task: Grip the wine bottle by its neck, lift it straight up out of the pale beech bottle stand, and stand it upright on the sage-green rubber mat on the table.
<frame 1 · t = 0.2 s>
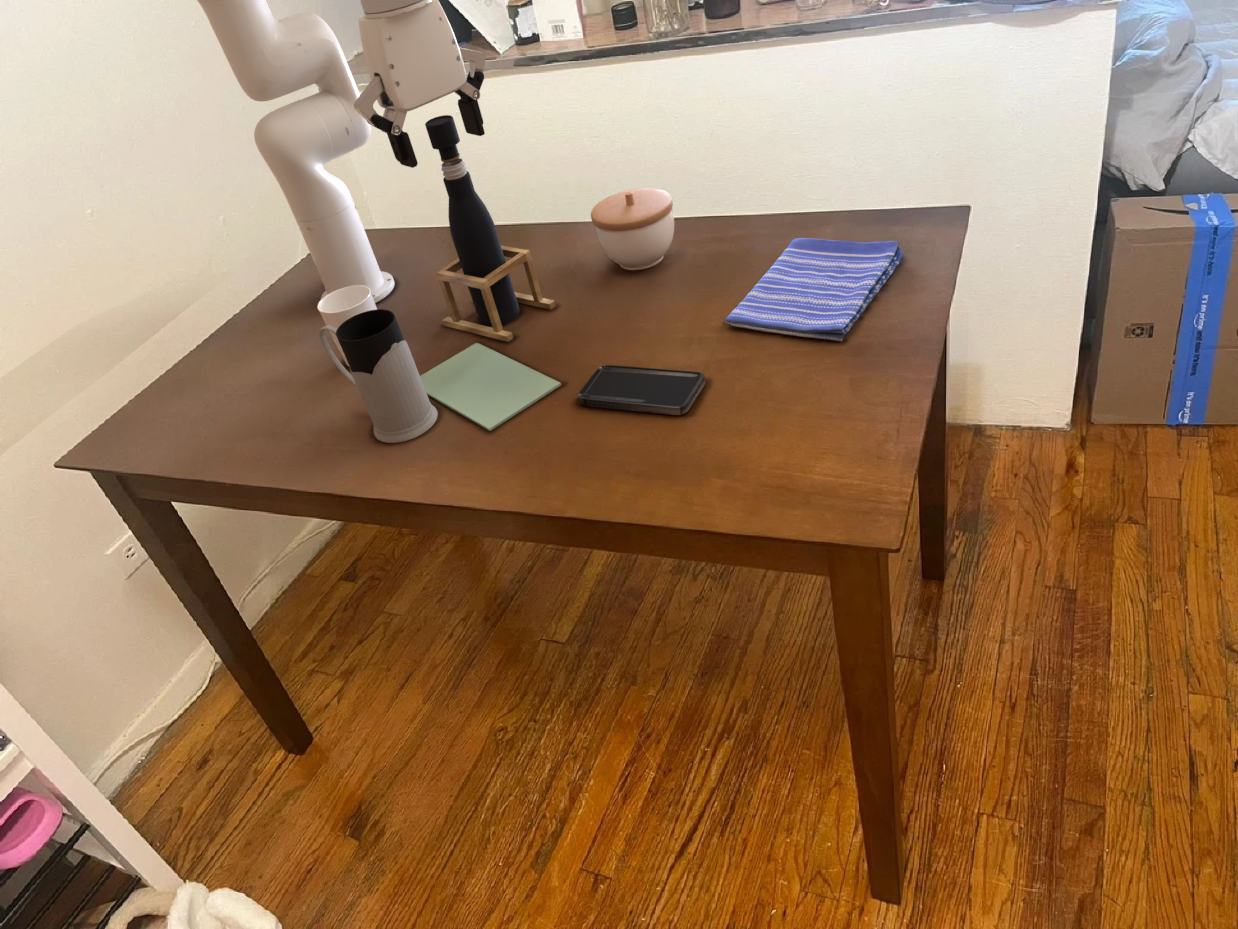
hand: (443, 149, 112), 31 cm above the table, tool pointing down, fingers open, 9 cm apart
phone: (642, 394, 120), on the table
mat: (483, 384, 129), on the table
bottle stand: (499, 316, 144), on the table
dish towel: (817, 293, 131), on the table
lidded bowl: (641, 260, 150), on the table
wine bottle: (499, 317, 145), on the table
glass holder: (391, 420, 127), on the table
white cup: (368, 358, 142), on the table
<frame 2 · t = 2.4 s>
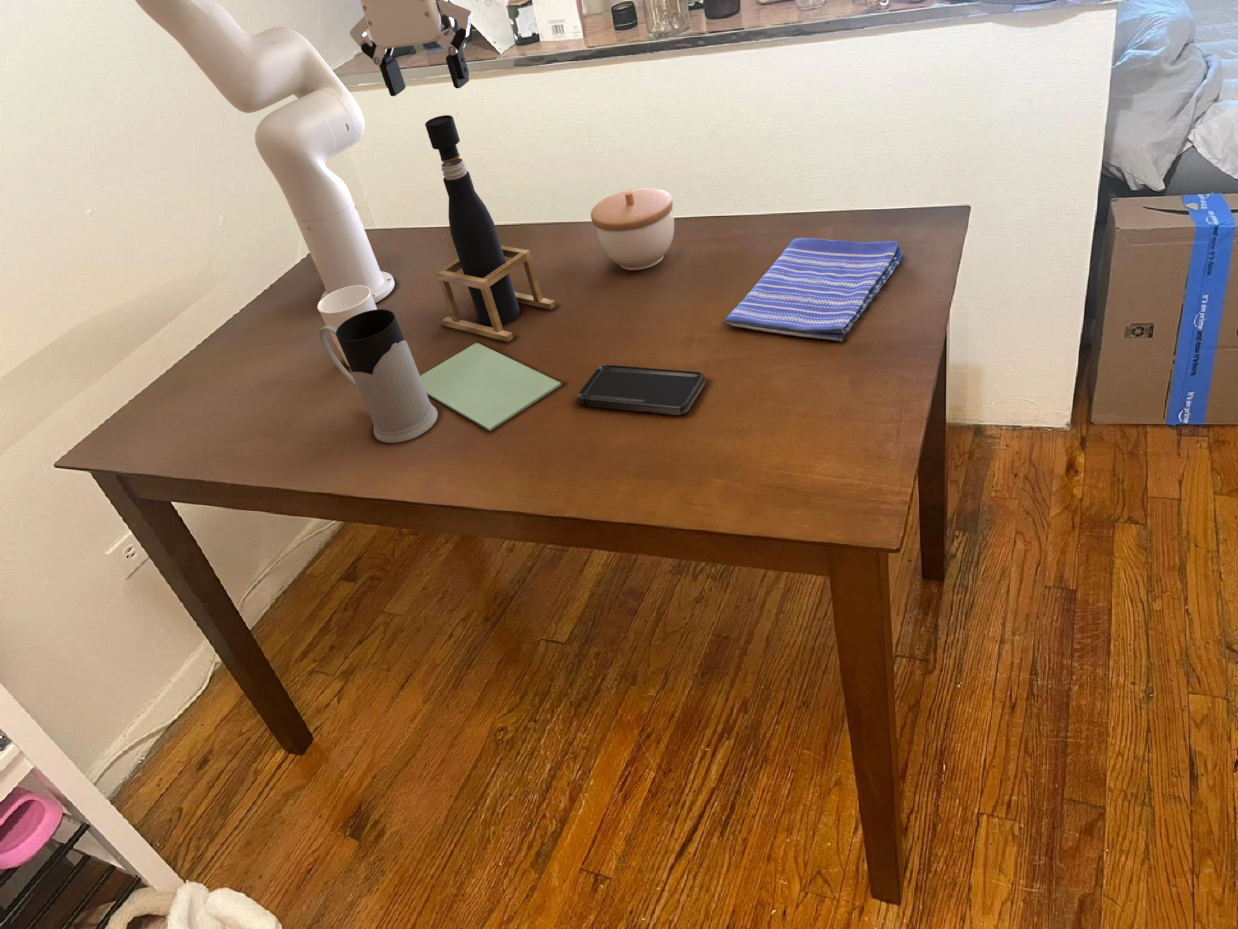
hand: (430, 88, 124), 34 cm above the table, tool pointing down, fingers open, 9 cm apart
nothing on the table moved.
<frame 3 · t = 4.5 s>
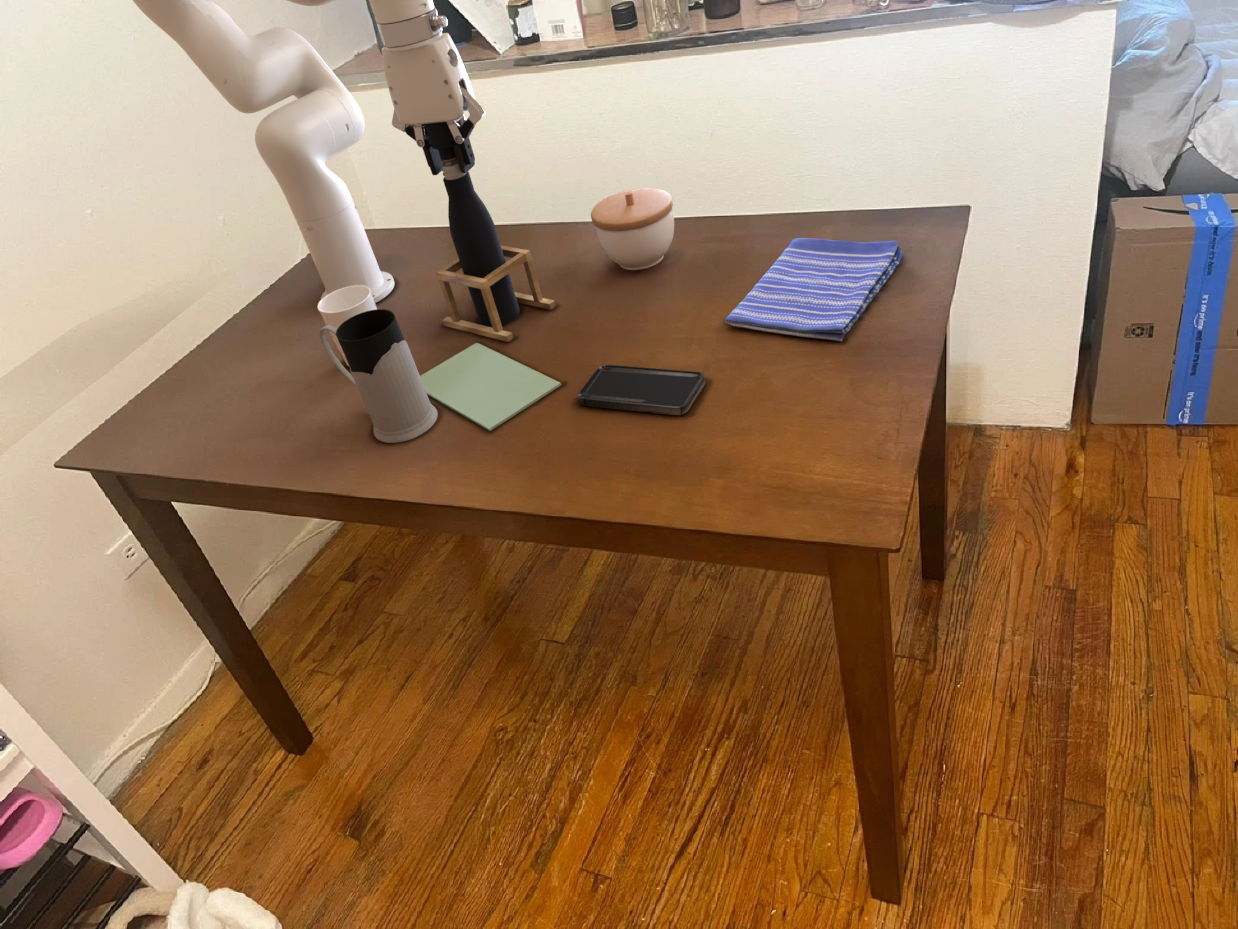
hand: (453, 168, 130), 23 cm above the table, tool pointing down, fingers closed on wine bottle, 3 cm apart
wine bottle: (499, 317, 145), on the table, touching gripper
everything else where it was.
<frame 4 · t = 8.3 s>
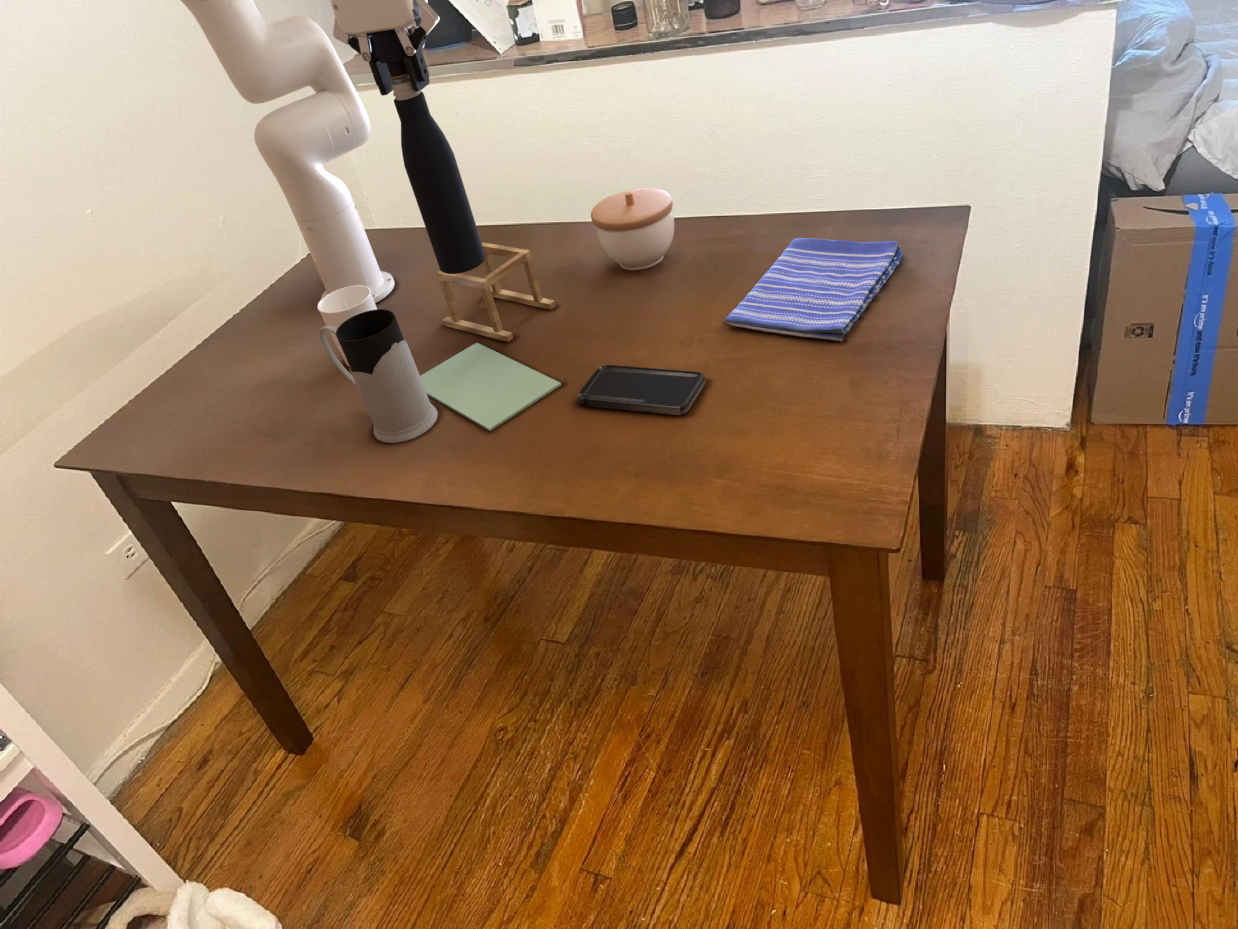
hand: (405, 87, 114), 37 cm above the table, tool pointing down, fingers closed on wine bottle, 3 cm apart
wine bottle: (463, 264, 128), point 14 cm above the table, touching gripper
everything else where it was.
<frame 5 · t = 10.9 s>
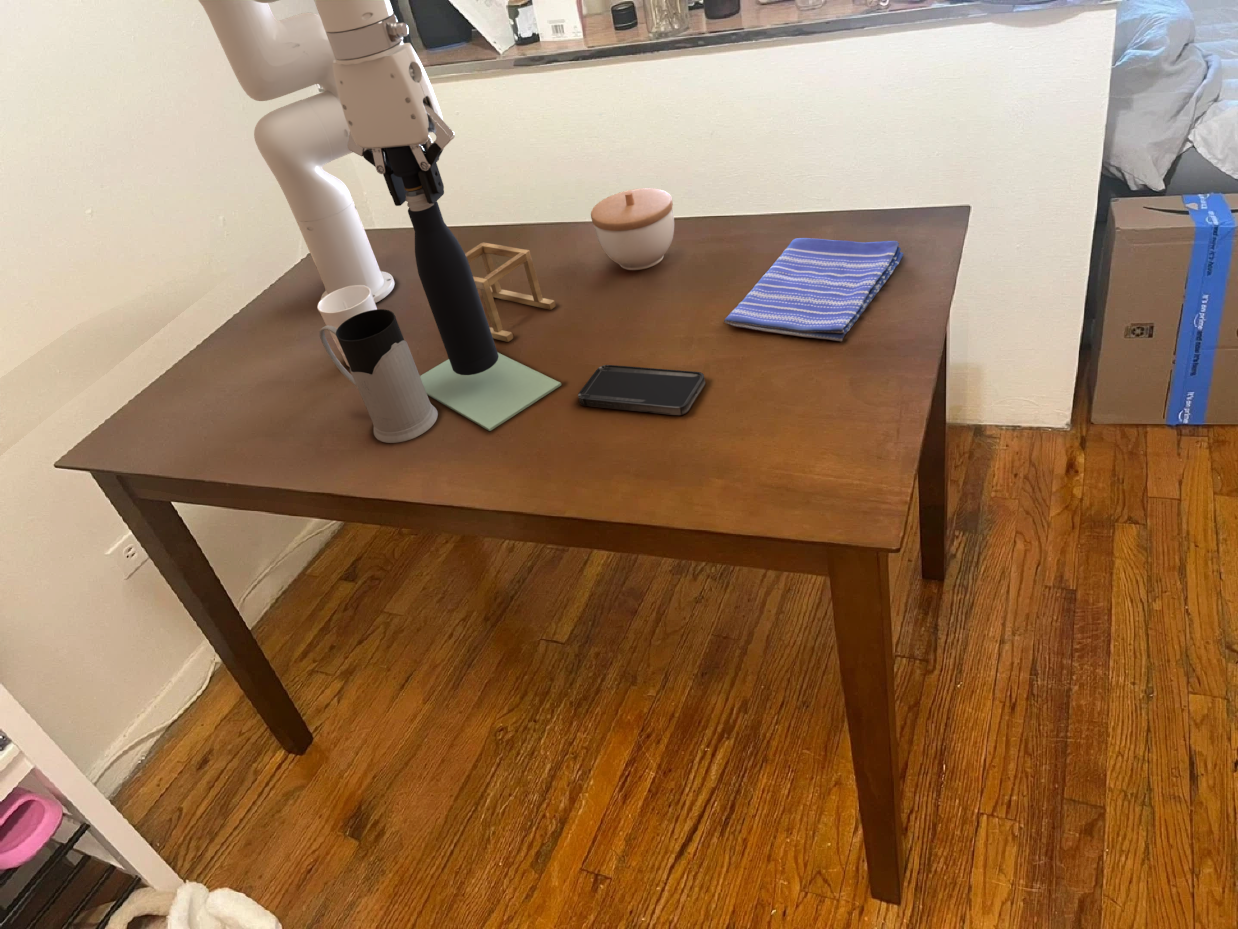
hand: (419, 198, 113), 27 cm above the table, tool pointing down, fingers closed on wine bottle, 3 cm apart
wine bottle: (476, 363, 127), point 3 cm above the table, touching gripper
everything else where it was.
when the fingers open (24 cm above the table, at t = 12.4 s): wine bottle stays where it is, resting on mat.
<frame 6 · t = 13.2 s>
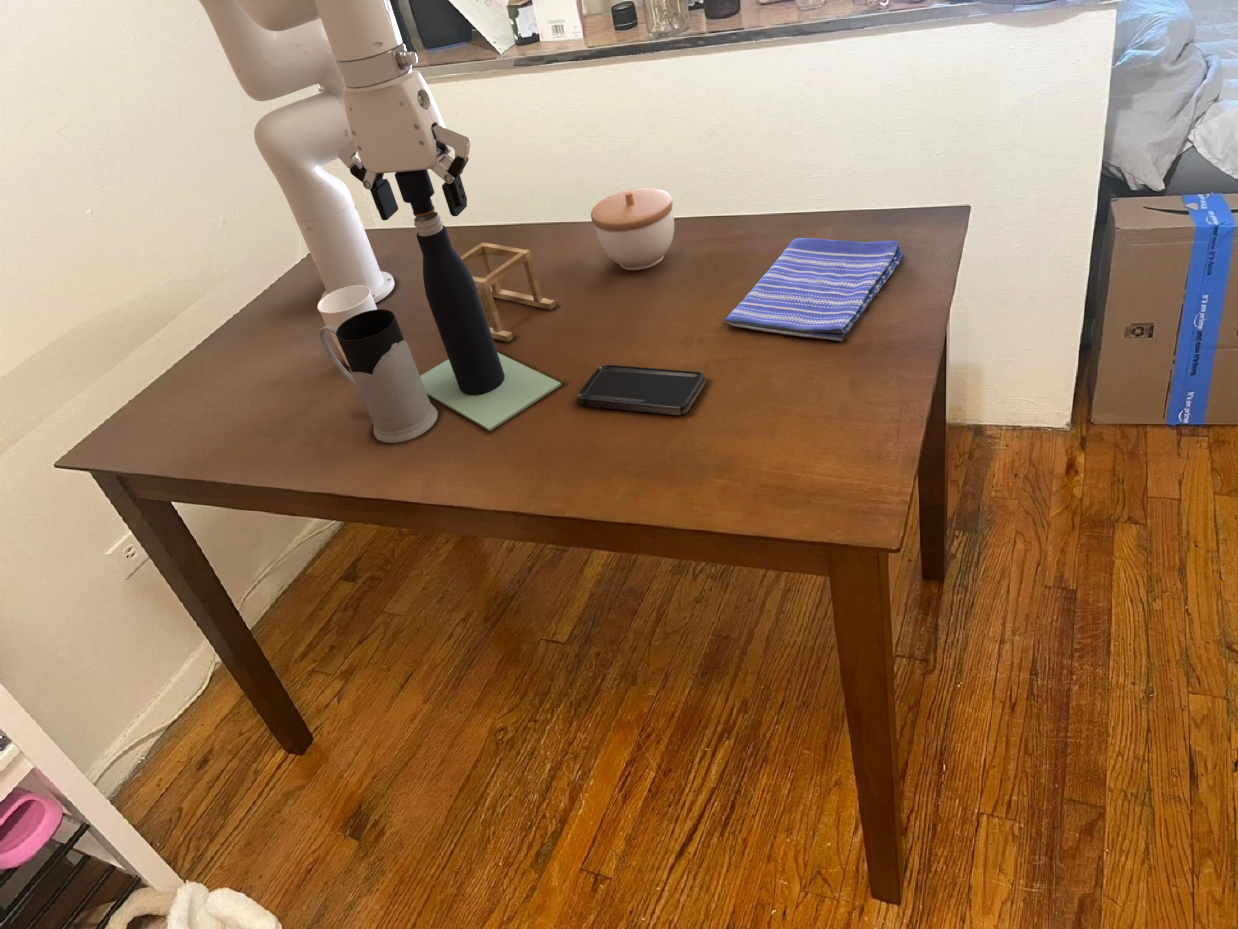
hand: (424, 213, 114), 25 cm above the table, tool pointing down, fingers open, 9 cm apart
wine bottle: (482, 383, 129), resting on mat
everything else where it was.
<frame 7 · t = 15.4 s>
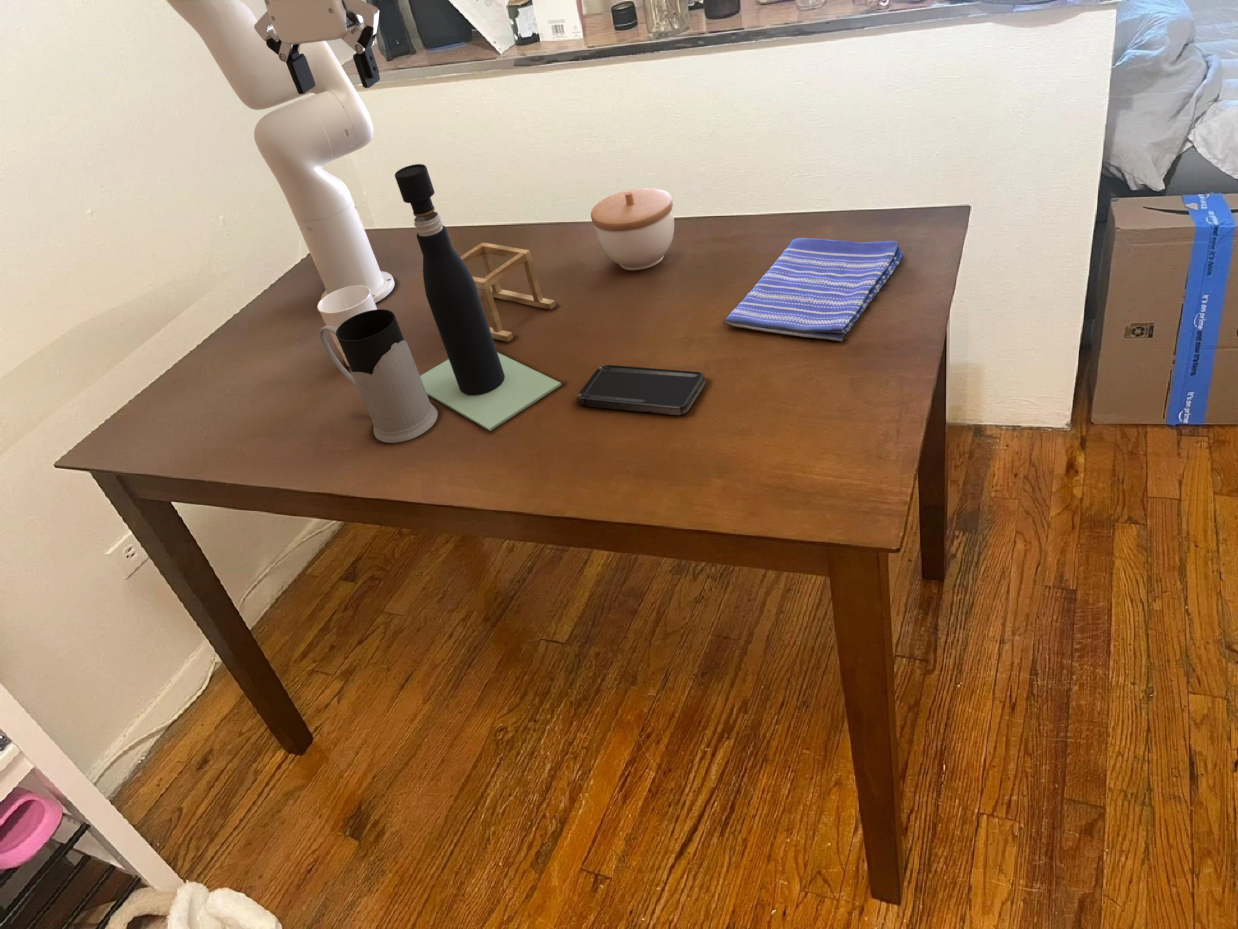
hand: (339, 87, 118), 38 cm above the table, tool pointing down, fingers open, 9 cm apart
nothing on the table moved.
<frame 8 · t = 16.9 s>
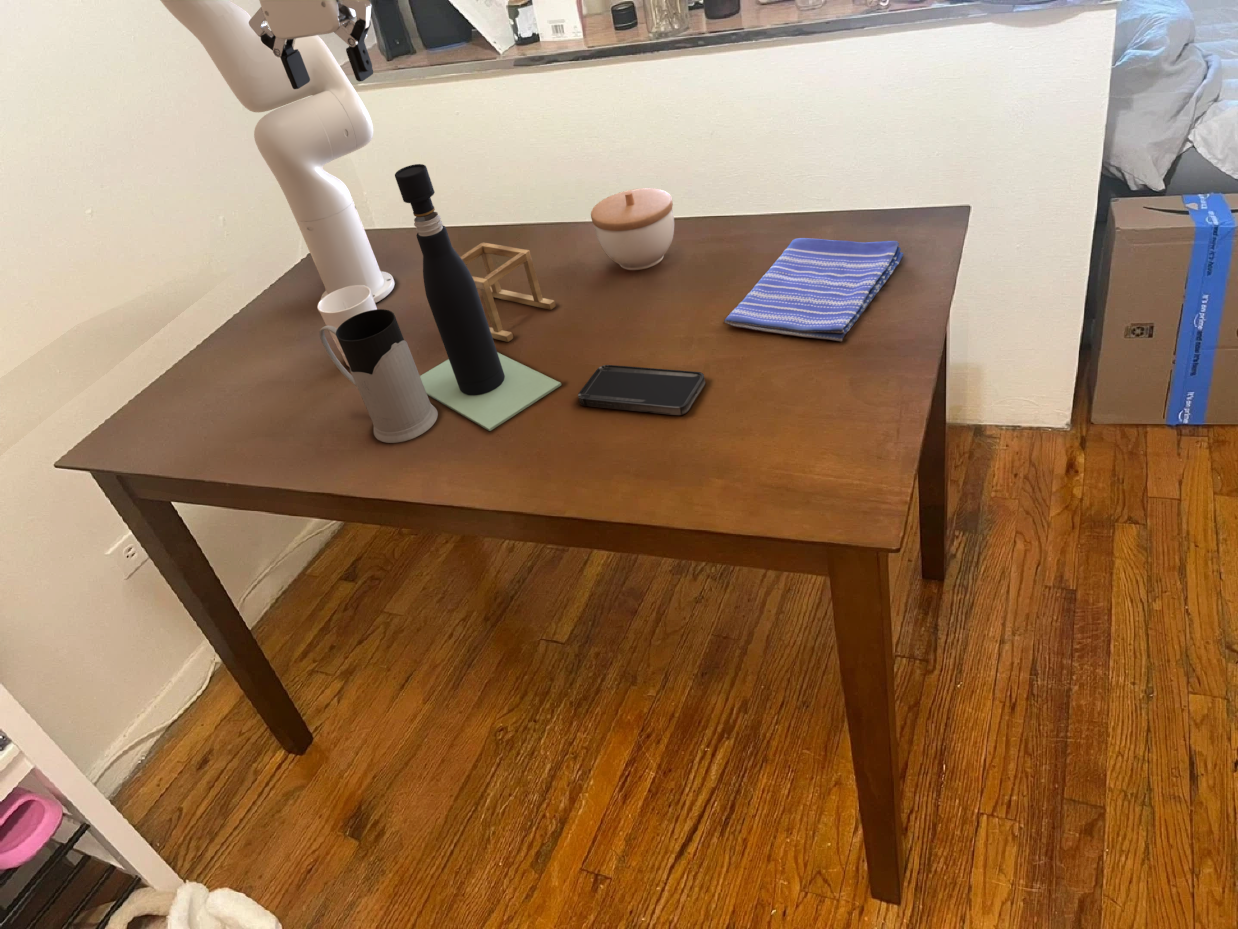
hand: (333, 81, 119), 38 cm above the table, tool pointing down, fingers open, 9 cm apart
nothing on the table moved.
at the end: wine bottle inside the target area on the mat (0.1 cm from its centre), point 0.2 cm above the mat's base; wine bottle tilted 0°; the gripper is holding nothing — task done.
